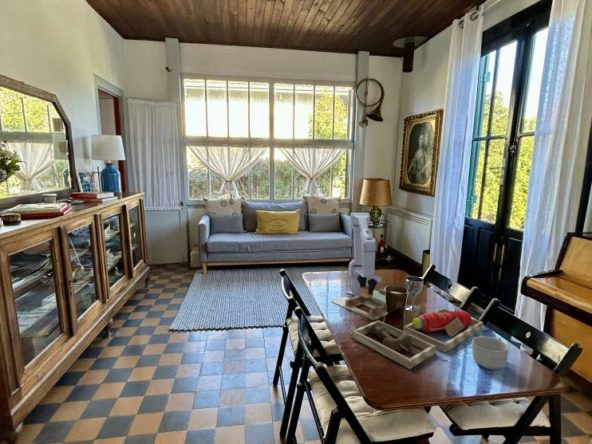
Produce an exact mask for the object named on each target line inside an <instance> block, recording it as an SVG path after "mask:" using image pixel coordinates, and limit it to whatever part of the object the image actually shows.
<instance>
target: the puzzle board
mask: <svg viewBox="0 0 592 444" xmlns="http://www.w3.org/2000/svg"><path fill="white" fill-rule="evenodd" d="M358 306H364V307H366V308H368V311H369V312H366V311H364V310H361V309H359V308H357V307H358ZM343 308H344V309H347V310H349V311H351V312H353V313H356V314H358V315H360V316H361V317H362V316H363V317H365V318H366V317H367V319H369V320H371V321H377V320H379V319H380V318H383V317H385V316H388V315H389V314H388V312H387V305H386V304H385V303H383V302H380V301H378V300H375V299H372V298H370V297H369V298H365V297H363V296H361V295H359V296H353V297H350V299H347V300H346V301H345V305H344V307H343ZM387 314H388V315H387Z"/></svg>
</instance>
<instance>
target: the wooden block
mask: <svg viewBox="0 0 592 444" xmlns="http://www.w3.org/2000/svg"><path fill="white" fill-rule="evenodd" d="M361 296H363V297H365V298H369V297H372V296H373V294H371V295H369V287H368V286H365V287H361Z"/></svg>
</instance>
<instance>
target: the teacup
mask: <svg viewBox="0 0 592 444" xmlns="http://www.w3.org/2000/svg"><path fill="white" fill-rule="evenodd" d="M471 343H472V347H471V348H472V352H471V353H472V357H473V360H474V361H475V362H477V364H479V366H481V367H483V368H484V369H489V370H498V369H501V368H503V367H504V366H507V365H506V364H507V362H508V358H509V357H508V356H509V355H508V353H509V351H508V350H509V346H508V344H507V343H506V342H505V341H503V340H502V338H500V337H497V336H496V337H495V338H494V337H492V336H491V337H490V336H483V335H482V336H481V335H479V336H476V337H473V338H472V340H471Z"/></svg>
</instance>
